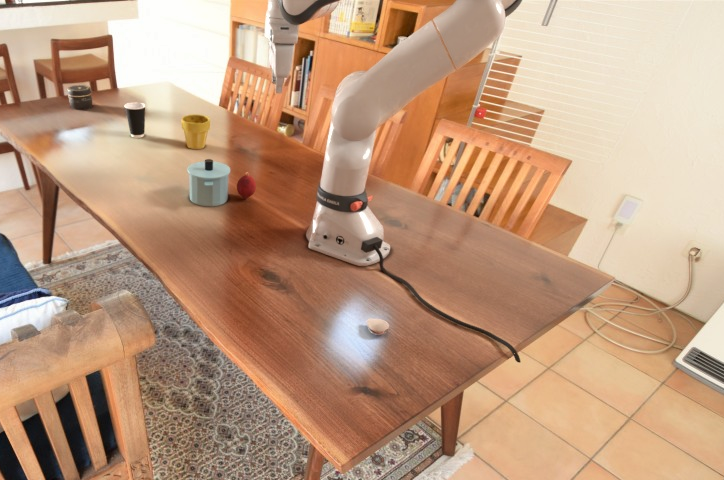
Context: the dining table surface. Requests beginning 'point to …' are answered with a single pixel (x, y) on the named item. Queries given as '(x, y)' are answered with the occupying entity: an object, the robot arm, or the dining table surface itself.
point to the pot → (208, 191)
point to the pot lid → (208, 169)
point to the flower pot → (195, 130)
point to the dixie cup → (136, 118)
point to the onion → (246, 186)
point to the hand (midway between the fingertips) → (276, 88)
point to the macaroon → (377, 326)
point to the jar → (80, 97)
